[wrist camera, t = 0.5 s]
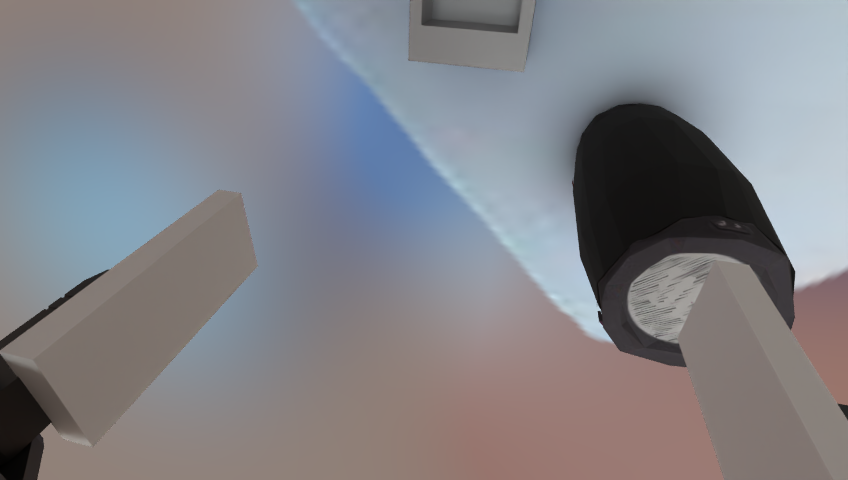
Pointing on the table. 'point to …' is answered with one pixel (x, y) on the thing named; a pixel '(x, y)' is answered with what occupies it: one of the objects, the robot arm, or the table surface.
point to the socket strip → (471, 32)
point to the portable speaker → (665, 226)
